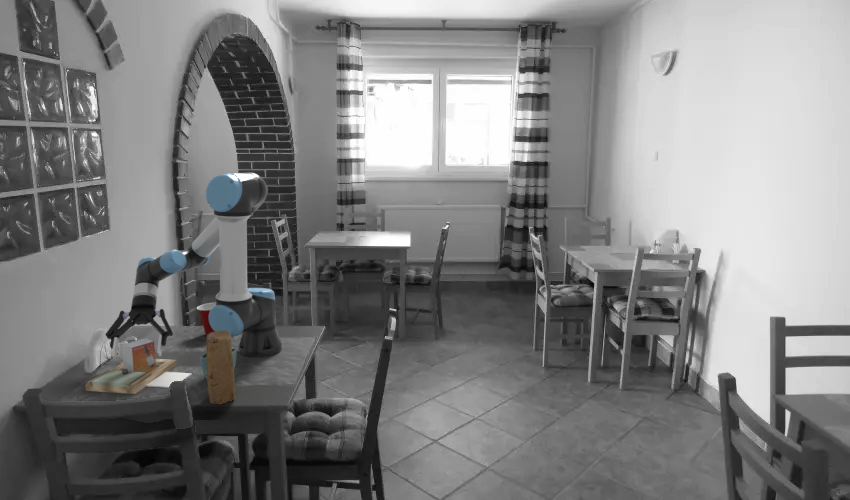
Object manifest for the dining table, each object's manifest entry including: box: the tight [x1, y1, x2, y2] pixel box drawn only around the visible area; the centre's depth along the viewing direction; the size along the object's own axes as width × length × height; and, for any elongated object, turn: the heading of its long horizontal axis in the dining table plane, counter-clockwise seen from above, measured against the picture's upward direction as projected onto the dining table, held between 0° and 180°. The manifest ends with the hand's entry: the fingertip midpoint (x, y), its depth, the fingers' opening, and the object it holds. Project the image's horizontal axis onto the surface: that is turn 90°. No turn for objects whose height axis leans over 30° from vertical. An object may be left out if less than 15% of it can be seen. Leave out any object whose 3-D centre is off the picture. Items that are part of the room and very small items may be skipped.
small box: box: [121, 337, 157, 373], centre depth 189 cm, size 8×6×10 cm
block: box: [205, 331, 236, 405], centre depth 170 cm, size 11×8×20 cm
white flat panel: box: [145, 371, 193, 389], centre depth 184 cm, size 9×11×1 cm
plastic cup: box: [196, 301, 216, 337], centre depth 228 cm, size 11×11×12 cm
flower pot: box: [199, 348, 238, 379], centre depth 184 cm, size 9×9×9 cm
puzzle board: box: [85, 358, 178, 395], centre depth 186 cm, size 16×23×4 cm
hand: (136, 356), depth 188 cm, fingers open, 13 cm apart
